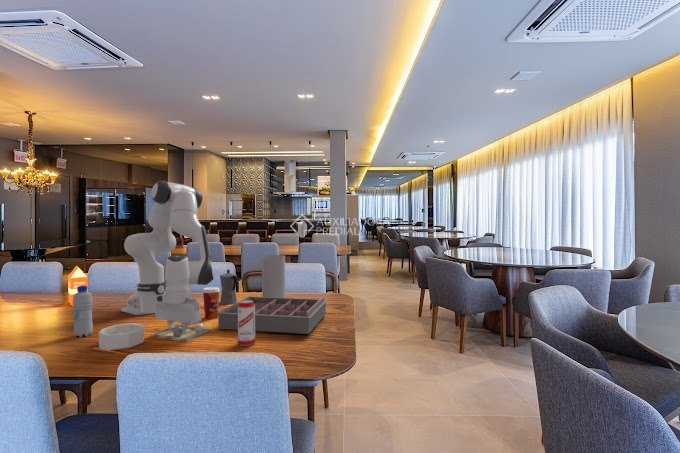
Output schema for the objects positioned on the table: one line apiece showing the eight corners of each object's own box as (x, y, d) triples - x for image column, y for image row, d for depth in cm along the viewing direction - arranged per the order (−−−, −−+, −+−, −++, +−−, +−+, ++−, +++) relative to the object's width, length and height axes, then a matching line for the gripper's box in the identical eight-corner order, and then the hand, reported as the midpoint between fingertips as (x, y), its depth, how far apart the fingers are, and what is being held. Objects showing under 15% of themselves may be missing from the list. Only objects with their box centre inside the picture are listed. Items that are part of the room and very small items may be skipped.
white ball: (191, 334, 149) (191, 324, 149) (199, 331, 153) (199, 321, 153) (199, 335, 148) (199, 325, 147) (207, 332, 151) (206, 322, 151)
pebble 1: (115, 344, 139) (106, 340, 136) (121, 334, 141) (112, 330, 139) (122, 344, 137) (113, 340, 135) (128, 334, 140) (119, 330, 137)
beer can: (239, 341, 142) (239, 299, 142) (256, 340, 143) (256, 299, 142) (236, 347, 136) (236, 303, 136) (254, 346, 137) (253, 303, 136)
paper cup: (214, 321, 170) (214, 290, 169) (199, 320, 171) (199, 289, 171) (223, 316, 177) (223, 286, 177) (208, 315, 179) (208, 286, 178)
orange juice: (85, 300, 210) (84, 265, 209) (88, 303, 203) (87, 266, 203) (68, 302, 205) (67, 266, 204) (70, 305, 198) (69, 268, 198)
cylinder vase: (274, 304, 201) (274, 258, 200) (257, 301, 207) (257, 256, 207) (289, 300, 211) (289, 255, 210) (273, 297, 218) (273, 254, 217)
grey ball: (170, 337, 145) (170, 327, 145) (178, 334, 149) (178, 324, 149) (178, 338, 144) (178, 328, 144) (186, 335, 148) (186, 325, 147)
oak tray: (150, 337, 146) (150, 333, 146) (178, 327, 159) (178, 324, 159) (186, 343, 140) (186, 339, 140) (212, 332, 153) (212, 328, 153)
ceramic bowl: (91, 347, 136) (90, 332, 136) (126, 335, 149) (125, 322, 149) (118, 352, 131) (118, 337, 130) (152, 340, 144) (151, 325, 143)
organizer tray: (248, 312, 185) (248, 292, 185) (327, 316, 178) (327, 295, 178) (215, 332, 154) (215, 308, 154) (310, 338, 147) (310, 312, 146)
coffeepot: (214, 301, 207) (214, 269, 206) (230, 299, 213) (230, 267, 213) (228, 306, 196) (227, 272, 195) (244, 303, 202) (244, 270, 202)
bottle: (78, 339, 144) (77, 287, 144) (69, 336, 148) (68, 286, 147) (96, 334, 150) (95, 284, 150) (88, 331, 154) (87, 283, 153)
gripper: (204, 297, 145) (205, 333, 145) (164, 293, 153) (165, 327, 153) (192, 301, 139) (193, 338, 140) (151, 296, 147) (152, 331, 147)
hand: (178, 332), depth 146 cm, fingers closed on grey ball, 4 cm apart
